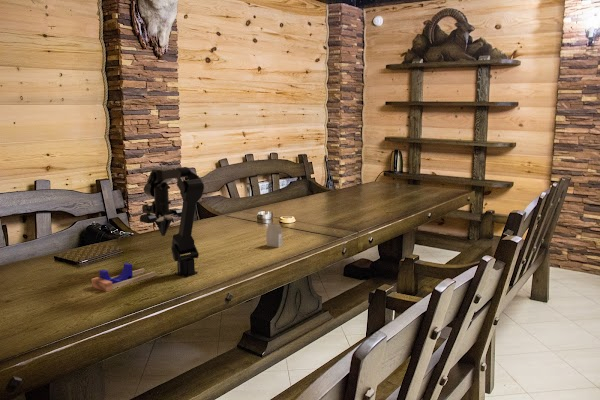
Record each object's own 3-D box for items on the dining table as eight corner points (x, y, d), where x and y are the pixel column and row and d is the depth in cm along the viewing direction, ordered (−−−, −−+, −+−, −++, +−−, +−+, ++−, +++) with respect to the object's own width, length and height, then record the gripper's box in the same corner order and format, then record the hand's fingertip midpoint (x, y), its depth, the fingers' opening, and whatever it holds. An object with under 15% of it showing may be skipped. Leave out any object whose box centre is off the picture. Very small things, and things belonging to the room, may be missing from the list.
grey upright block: (278, 247, 255) (278, 226, 253) (266, 245, 258) (266, 225, 257) (282, 245, 258) (282, 225, 257) (270, 243, 262) (270, 223, 260)
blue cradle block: (107, 288, 200) (106, 272, 199) (100, 286, 202) (99, 270, 201) (135, 280, 209) (134, 265, 208) (127, 277, 212) (127, 263, 211)
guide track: (156, 275, 214) (156, 268, 213) (106, 291, 196) (106, 283, 196) (142, 271, 219) (141, 264, 219) (92, 286, 201) (91, 278, 201)
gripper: (166, 193, 237) (167, 229, 240) (130, 200, 222) (132, 237, 225) (183, 196, 231) (185, 232, 233) (147, 203, 216) (149, 241, 219)
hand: (163, 235), depth 228 cm, fingers closed
